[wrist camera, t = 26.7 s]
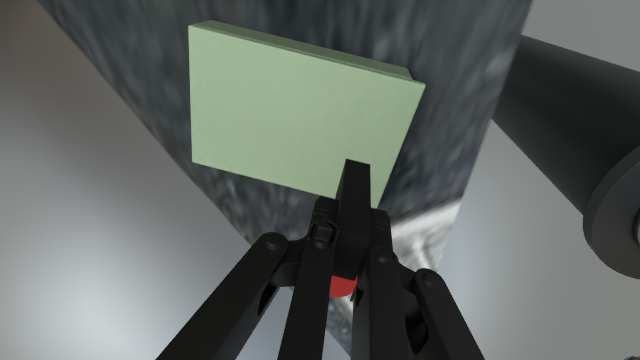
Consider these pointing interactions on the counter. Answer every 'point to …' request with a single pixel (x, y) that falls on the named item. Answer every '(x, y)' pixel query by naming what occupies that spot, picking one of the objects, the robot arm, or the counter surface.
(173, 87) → the counter surface
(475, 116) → the counter surface
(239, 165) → the lid
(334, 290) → the tin
